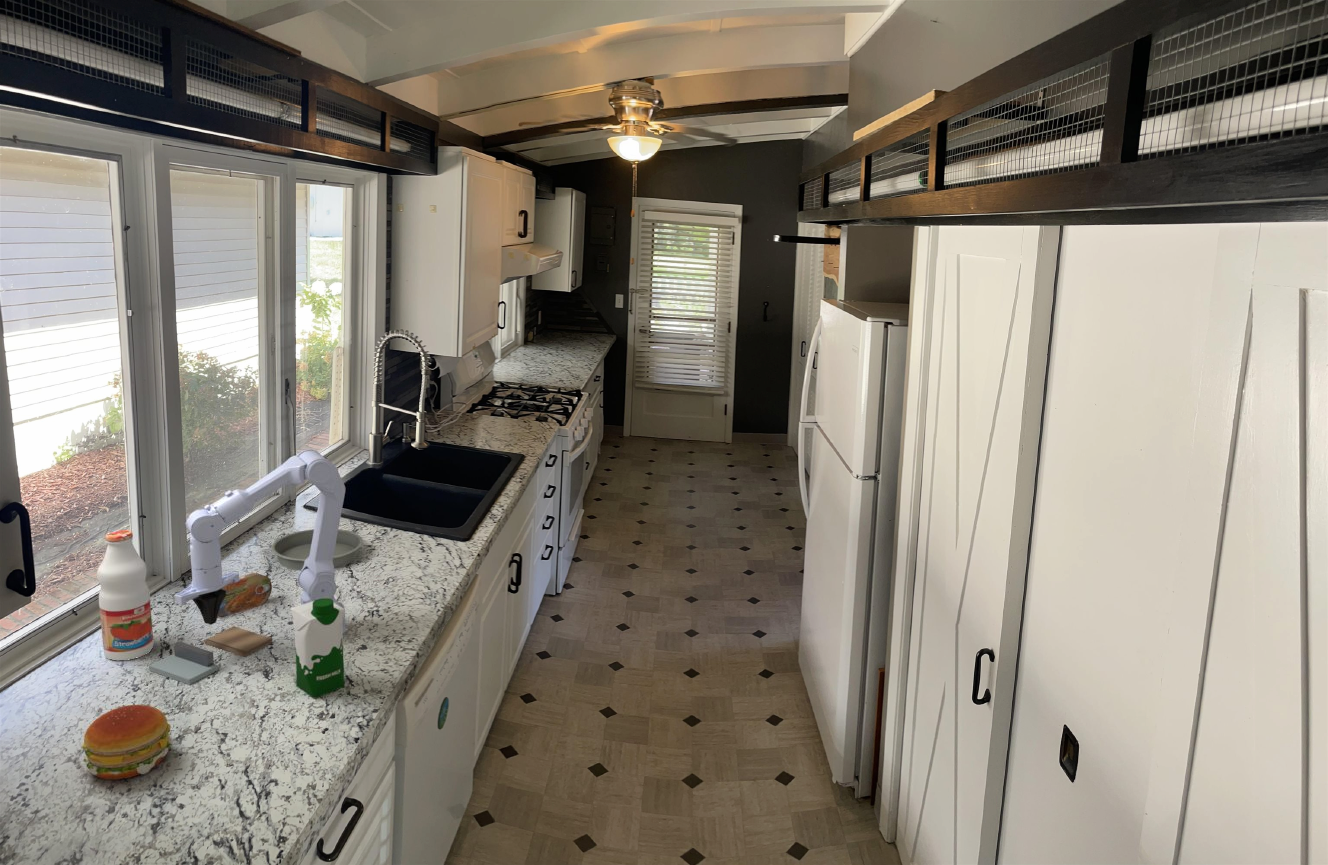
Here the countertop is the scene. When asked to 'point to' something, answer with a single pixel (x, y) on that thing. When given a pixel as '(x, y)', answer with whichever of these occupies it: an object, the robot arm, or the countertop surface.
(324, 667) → the milk carton
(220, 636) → the board
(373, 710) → the countertop surface
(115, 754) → the burger
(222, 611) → the tin
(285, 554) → the cake pan
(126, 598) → the fruit juice
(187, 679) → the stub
